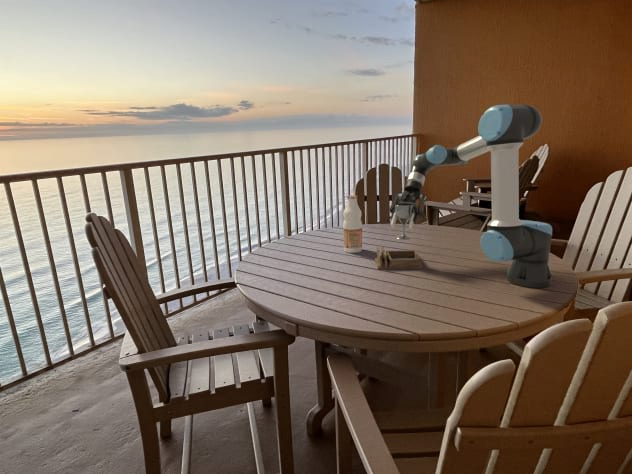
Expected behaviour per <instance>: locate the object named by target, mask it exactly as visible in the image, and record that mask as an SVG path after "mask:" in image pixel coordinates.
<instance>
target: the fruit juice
mask: <svg viewBox="0 0 632 474" xmlns="http://www.w3.org/2000/svg"><path fill="white" fill-rule="evenodd" d="M346 199H347V203H346V206H345V208H344V209H343V212H342V213H343V214H342V216H343V223H342V233H343V237H342V239H343V250H344V252H346V253H348V254H349V253H350V254H353V253H360V252H362V251H363V222H362V219H361V218H362V214H363V213H362V210H361V209H360V206H359V205H358V195H356V194H351V195H350V194H349V195H347V197H346Z"/></svg>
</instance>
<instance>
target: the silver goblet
mask: <svg viewBox="0 0 632 474" xmlns="http://www.w3.org/2000/svg"><path fill="white" fill-rule="evenodd" d="M395 213H396V217H397V220H399V222H400V223H401V225H402V235H397V236H395V237H394V238H395V239H397V240H401V241H402V240H411V239H413V237H412V236H410V235H406V234H405V232H406V231H405V230H406V227H407V223H408V222H410V220H411V217H412V214H414V204H413V203H411V202H401V203H399V202H398V203H396V204H395Z"/></svg>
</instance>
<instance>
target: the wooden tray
mask: <svg viewBox="0 0 632 474" xmlns="http://www.w3.org/2000/svg"><path fill="white" fill-rule="evenodd" d="M374 261H375V264H376V267H377V270H408V269H409V270H411V269H412V270H413V269H416V270H417V269H419V270H420V269H423V258H422V257H421V256H420V254H419V253H418V252H417V250H415V249H413V250H410V249H409V250H385V247H383V246H382V247H381V250H380V247H376V257H374Z"/></svg>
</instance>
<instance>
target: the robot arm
mask: <svg viewBox="0 0 632 474" xmlns="http://www.w3.org/2000/svg"><path fill="white" fill-rule="evenodd" d="M542 123H543V116H542V114H541V112H540V110H539V109H538V108H537V107H535V106H533V105H531V104H507V103H506V104H505V103H504V104H497V105H493V106H491V107H488V108H487V110H485V111H484V113H483V114H482V115H481V116H480V119H479V122H478V127H477V129H478V131H477V132H478V136H476V137H473V138H471V139H469V140H468V141H465V142H463V143H461V144H459V145H456V146H454V147H449V148H445V147H444V146H442V145H440V144H436V145H434V146H432V147H430V148H429V149H428V150H427V151H426V152H424V153H421V154H417V155H416V156H415V157H414V159H413V160H412V164H411V167H410V171H409V174H408V177H407V179H406V183H405V186H404V188H403V192H402V193H399V192H395V197H394V198H393V201H392V203H391V205H390V207H389V208H388V211H389V212H390V214H391V216H390V220H391V222H390V226H391V228H392V229H394V228H395V225H396V222H397V220H398V218H397V217H396V213H395V204H396V203H401V202H408V203H413V204H414V211H413V214H412V217H411V219H410V220H409V224H408V227H409V230H411V231H412V230H413V227H414V223H417V221H418V218H419V217H422V216H424V211H425V204H426V203H425V202H426V201H427V199H428V198H427V195H426V193H424V194H422V191H423V187H424V184H425V181H426V177H427V175H428V173H429V172H430V171H432V170H433V169H434V168H436V167H442V166H443V167H447V166H459V165H464V164H465V165H466V164H467V163H468V162H469V160H472V159H474V158H476V157H479V156H481V155H483V154H486V153H488V152H490V167H491V169H490V172H491V173H490V174H491V177H490V179H491V182H490V183H491V220H490V221H488V223H487V230H486V231H485V232H483V234H482V235H481V237H480V247H481V250H482V252H483V254H484V255H486V257H487V259H489V260H491V261H492V262H495V263H502V262H505V263H506V262H510V261H511V263H510V265H509V267H508V269H507V271H506V277H505V278H506V280H507V281H508V282H510V283H512V284H514V285H516V286H521V287H525V288H535V289H536V288H537V289H538V288H547V287H550V286H551V285H552V281H553V280H552V279H553V278H552V273H551V268H550V265H549V260H550V251H551V243H552V237H553V227H552V226H553V225H551V224H550V223H546V222H541V221H533V220H530V219H529V220H528V219H525V220H524V219H520V218H519V217H520V215H519V213H520V209H519V208H520V205H519V204H520V202H519V201H520V200H519V199H520V197H519V196H520V194H519V193H520V191H519V190H520V189H519V187H520V186H519V183H520V182H519V181H520V180H519V178H520V177H519V176H520V175H519V171H520V170H519V167H520V166H519V158H520V157H519V155H520V154H519V149H520V148H521V147H522V146H523V145H524V140H526V139H529V138H532V137H533V136H534V135H536V134H537V133H538V132H539V131H540V129H541V127H542ZM400 199H401V200H400ZM419 199H420V202H419V203H420V204H419V208H418V203H417V201H418V200H419ZM418 209H419V210H418Z"/></svg>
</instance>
